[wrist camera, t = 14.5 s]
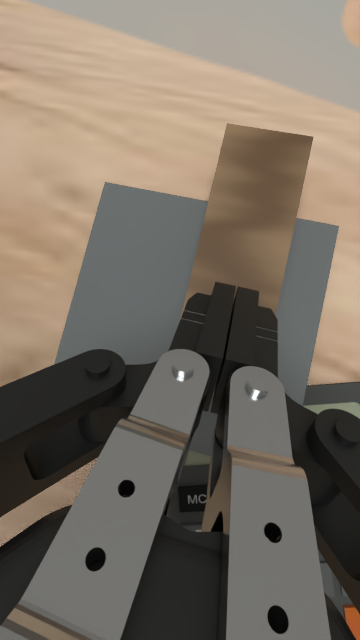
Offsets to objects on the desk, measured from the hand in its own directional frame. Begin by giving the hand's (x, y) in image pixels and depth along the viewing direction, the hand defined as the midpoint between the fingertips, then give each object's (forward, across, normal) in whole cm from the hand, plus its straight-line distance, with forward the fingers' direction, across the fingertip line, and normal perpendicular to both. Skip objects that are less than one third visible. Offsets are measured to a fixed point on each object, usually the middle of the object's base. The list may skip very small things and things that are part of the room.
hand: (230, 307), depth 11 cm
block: (+3, 0, +4) cm, 5 cm away
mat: (+5, +2, +5) cm, 8 cm away
